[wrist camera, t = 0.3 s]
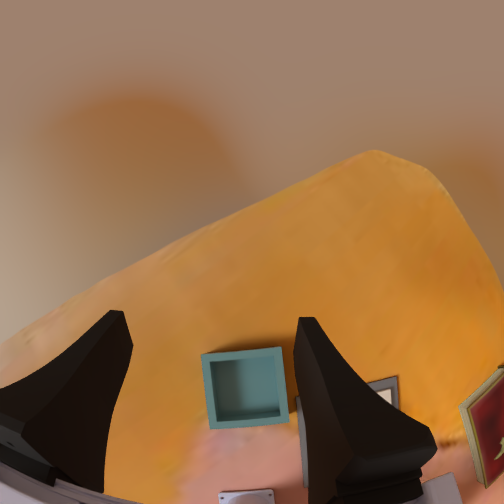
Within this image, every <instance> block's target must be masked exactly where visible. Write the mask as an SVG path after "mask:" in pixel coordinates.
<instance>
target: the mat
mask: <svg viewBox="0 0 504 504" xmlns="http://www.w3.org/2000/svg"><path fill="white" fill-rule="evenodd" d="M367 384H368V385H369V386H370V387H371V388H372V389H373V390H374V391H375V392H378V391H381V390H385V389H390V390H391V405H393V406H394V407H395V408H397V409H398V410H399V407H398V390H397V377H396V376H394V377H391V378H387V379H383V380H379V381H375V382H371V383H367ZM296 405H297V414H298V425H299V435H300V446H301V457H302V468H303V480H304V488H306V487H308V460H307V444H306V431H305V422H304V416H303V411H302V406H301V401H300V397H299V396H298V397H296Z"/></svg>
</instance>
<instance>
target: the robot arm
mask: <svg viewBox="0 0 504 504" xmlns="http://www.w3.org/2000/svg"><path fill="white" fill-rule="evenodd" d="M132 350H133V343H132V339H131V336H130V333H129V330H128V326H127V323H126V319H125V316H124V312H123V311H117V310H110V311H109V312H107V313H106V314H105V315H104V316H103V317H102V318H101V319H100V320H99V321H97V322H96V323H95V324H94V325H93V326H92V327H91V328H90V329H89V330H88V331H87V332H86V333H84V334H83V335H82V336H81V337H80V338H79V339H78V340H77V341H76V342H74V343H73V344H72V345H71V346H70V347H68V348H67V349H66V350H65V351H64V352H63V353H61V354H60V355H59V356H57V357H56V358H55V359H53V360H52V361H51V362H49V363H48V364H46V365H45V366H43V367H42V368H40V369H39V370H37V371H35V372H34V373H32V374H30V375H29V376H27V377H25V378H23V379H21V380H19V381H17V382H15V383H13V384H11V385H9V386H6V387H4V388H1V389H0V504H142V503H137V502H133V501H128V500H124V499H120V498H116V497H112V496H108V495H105V494H102V493H104V468H105V456H106V447H107V440H108V434H109V428H110V423H111V418H112V414H113V410H114V407H115V404H116V401H117V398H118V395H119V392H120V390H121V387H122V384H123V381H124V378H125V376H126V373H127V370H128V367H129V363H130V359H131V354H132ZM293 355H294V368H295V377H296V382H297V387H298V392H299V397H300V401H301V406H302V411H303V416H304V422H305V431H306V444H307V460H308V504H463V502H462V499H461V496H460V492H459V489H458V486H457V483H456V480H455V476H454V473H453V472H449V473H447V474H444V475H442V476H439V477H436V478H433V479H431V480H428V481H426V482H424V483H422V484H421V482H420V479H419V478H420V477H422V471H421V467H422V466H423V465H424V464H425V463H427V462H428V461H429V460H430V459H431V458H432V457H433V456H434V455H435V453H436V451H437V446H436V443H435V440H434V437H433V435H432V433H431V431H430V429H429V427H427V426H426V425H424V424H422V423H420V422H418V421H416V420H415V419H413V418H411V417H409V416H408V415H406V414H405V413H403V412H401V411H400V410H398V409H397V408H395V407H394V406H393V405H391V404H390V403H389V402H388V401H386V400H385V399H384V398H382V397H381V396H380V395H379V394H377V393H376V392H375V391H374V390H373V389H372V388H371V387H370V386H369V385H368V384H367V383H365V382H364V381H363V380H362V379H361V378H360V376H359V375H358V374H357V373H356V372H355V371H354V370H353V369H352V368H351V367H350V365H349V364H348V363H347V362H346V361H345V359H344V358H343V357H342V356H341V354H340V353H339V352H338V350H337V349H336V348H335V346H334V345H333V344H332V342H331V341H330V340H329V338H328V337H327V335H326V334H325V332H324V331H323V329H322V328H321V326H320V325H319V323H318V321H317V320H316V319H315V318H314V317H299V320H298V326H297V333H296V339H295V345H294V351H293ZM269 494H272V495H269ZM218 497H219V502H220V504H275V501H274V492H273V490H272V489H265V490H254V491H238V492H220V493H219V494H218ZM221 497H224V498H221Z"/></svg>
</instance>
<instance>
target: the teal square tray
mask: <svg viewBox="0 0 504 504" xmlns="http://www.w3.org/2000/svg"><path fill="white" fill-rule="evenodd" d="M201 361H202V370H203V379H204V387H205V396H206V404H207V411H208V419H209V426H210V429H226V428H241V427H253V426H263V425H272V424H280V423H288V422H289V412H288V403H287V393H286V384H285V375H284V366H283V357H282V348H281V346H275V347H267V348H258V349H248V350H238V351H227V352H214V353H204V354H201Z"/></svg>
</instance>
